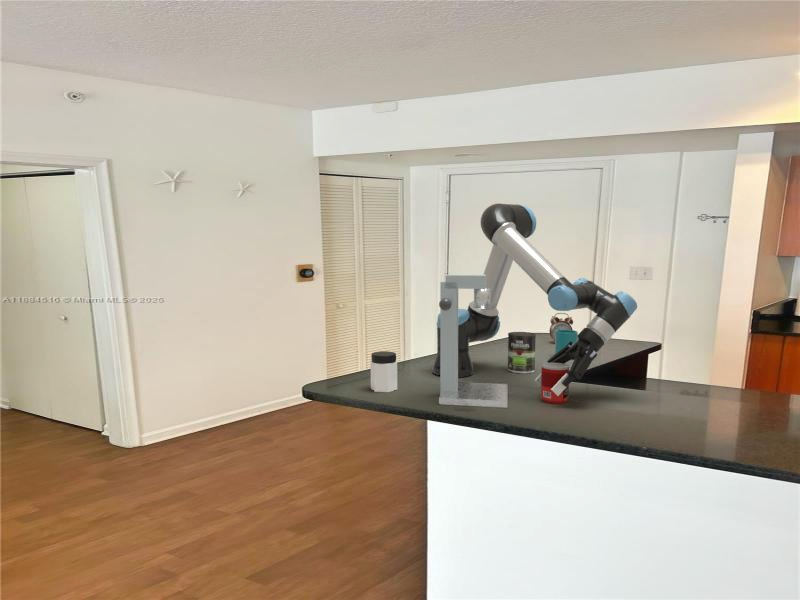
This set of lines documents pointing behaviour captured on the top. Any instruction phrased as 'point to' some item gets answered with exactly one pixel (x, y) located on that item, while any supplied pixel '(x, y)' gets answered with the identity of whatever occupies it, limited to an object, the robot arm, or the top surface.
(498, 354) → the top surface
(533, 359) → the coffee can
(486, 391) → the press
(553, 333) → the alarm clock
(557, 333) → the cup
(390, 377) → the jar
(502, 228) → the robot arm
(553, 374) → the canned food
